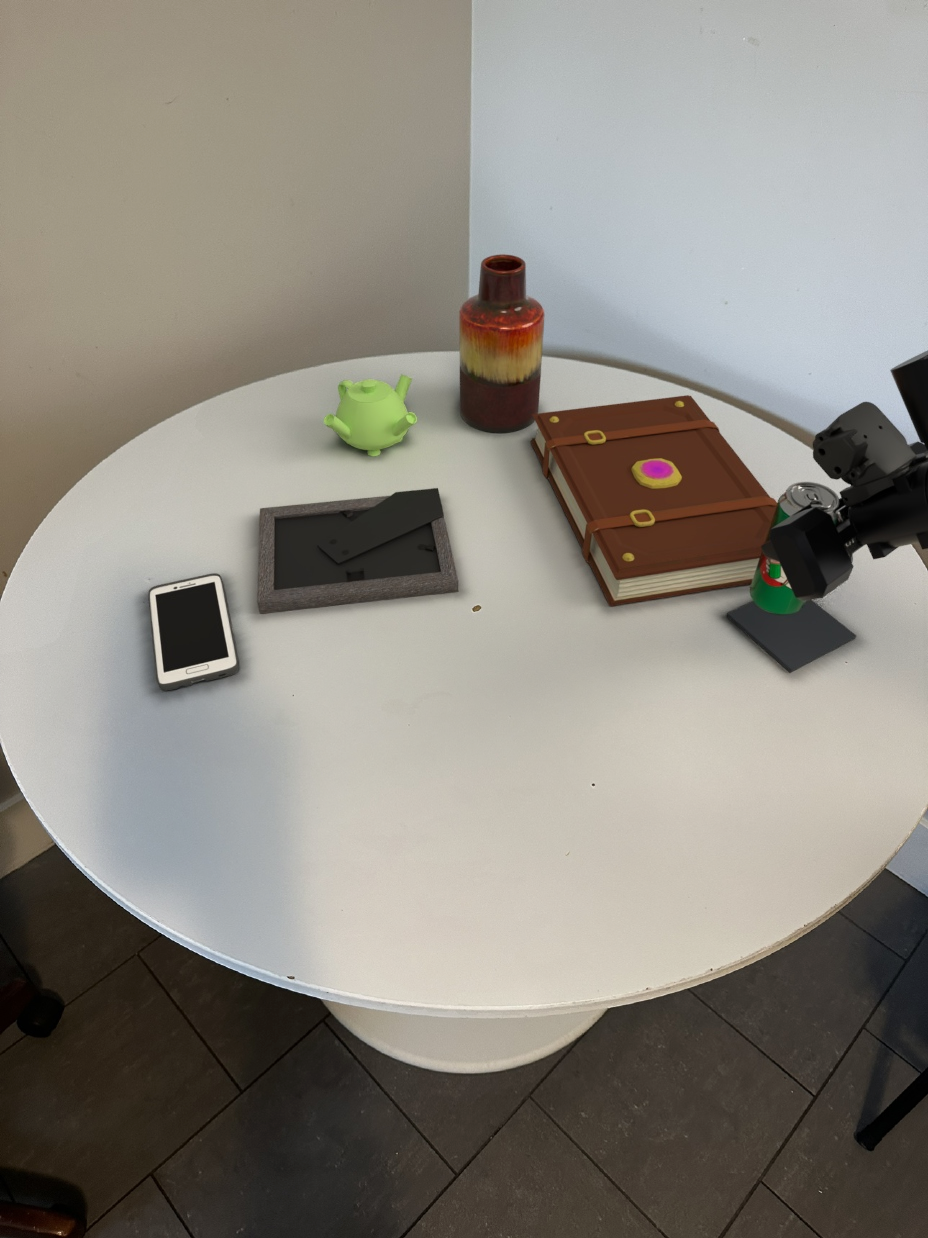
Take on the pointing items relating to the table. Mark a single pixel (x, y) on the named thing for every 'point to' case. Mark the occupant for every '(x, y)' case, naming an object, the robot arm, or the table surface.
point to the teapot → (372, 414)
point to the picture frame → (354, 551)
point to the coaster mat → (792, 633)
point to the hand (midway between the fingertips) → (782, 538)
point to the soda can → (769, 576)
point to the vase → (500, 349)
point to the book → (654, 497)
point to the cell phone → (191, 632)
